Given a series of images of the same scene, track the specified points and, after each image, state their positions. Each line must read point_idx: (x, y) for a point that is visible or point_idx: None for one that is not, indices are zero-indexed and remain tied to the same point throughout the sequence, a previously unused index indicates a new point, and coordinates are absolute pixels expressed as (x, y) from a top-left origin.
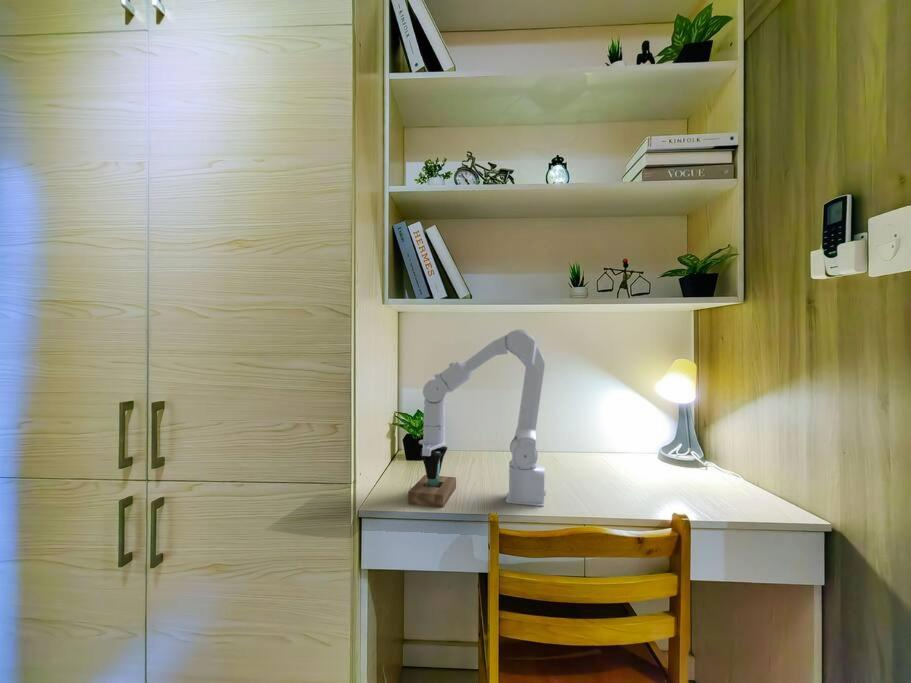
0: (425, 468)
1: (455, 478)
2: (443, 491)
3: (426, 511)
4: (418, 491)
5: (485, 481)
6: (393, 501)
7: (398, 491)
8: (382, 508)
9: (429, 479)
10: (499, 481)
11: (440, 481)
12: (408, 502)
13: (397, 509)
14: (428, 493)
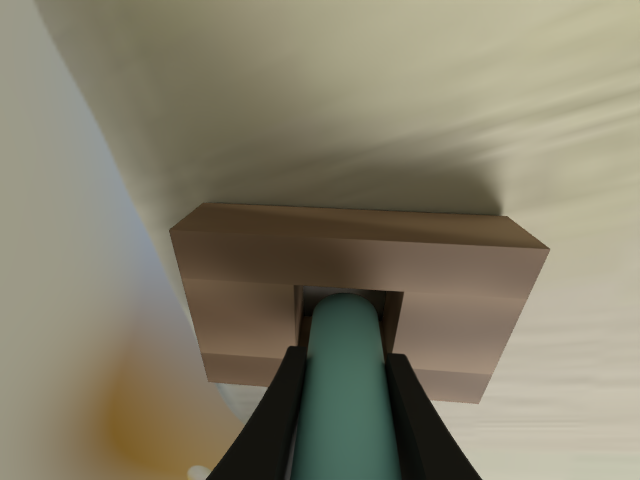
0: (255, 411)
1: (462, 401)
2: (251, 378)
3: (174, 290)
4: (200, 281)
5: (556, 428)
6: (211, 102)
7: (389, 67)
8: (89, 74)
9: (310, 343)
10: (550, 459)
11: (399, 351)
12: (199, 206)
13: (126, 167)
14: (197, 329)
